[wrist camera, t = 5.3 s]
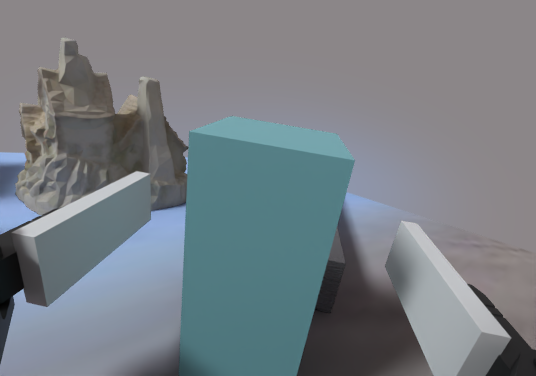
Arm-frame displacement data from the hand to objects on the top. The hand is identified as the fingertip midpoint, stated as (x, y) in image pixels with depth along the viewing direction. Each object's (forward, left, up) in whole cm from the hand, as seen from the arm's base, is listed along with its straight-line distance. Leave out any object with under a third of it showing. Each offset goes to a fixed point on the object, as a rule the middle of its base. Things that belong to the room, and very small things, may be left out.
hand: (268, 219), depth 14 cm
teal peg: (0, +3, -7) cm, 8 cm away
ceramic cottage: (+19, -14, -7) cm, 25 cm away
